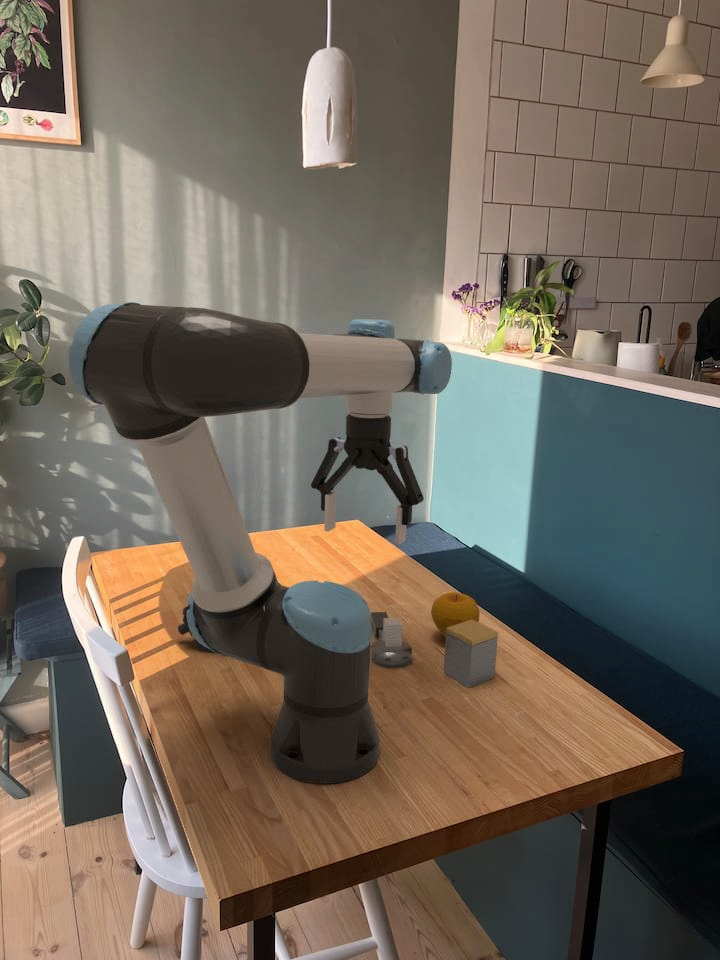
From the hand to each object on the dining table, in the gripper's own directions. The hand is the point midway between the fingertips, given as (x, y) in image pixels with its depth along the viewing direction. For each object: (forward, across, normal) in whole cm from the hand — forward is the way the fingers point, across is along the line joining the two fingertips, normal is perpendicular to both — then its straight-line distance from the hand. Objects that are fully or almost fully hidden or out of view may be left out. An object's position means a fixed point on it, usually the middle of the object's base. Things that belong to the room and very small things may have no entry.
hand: (364, 535), depth 139 cm
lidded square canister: (+21, -21, 0) cm, 29 cm away
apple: (+21, -13, -12) cm, 27 cm away
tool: (+21, +19, +12) cm, 31 cm away
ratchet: (+21, -3, -4) cm, 21 cm away
